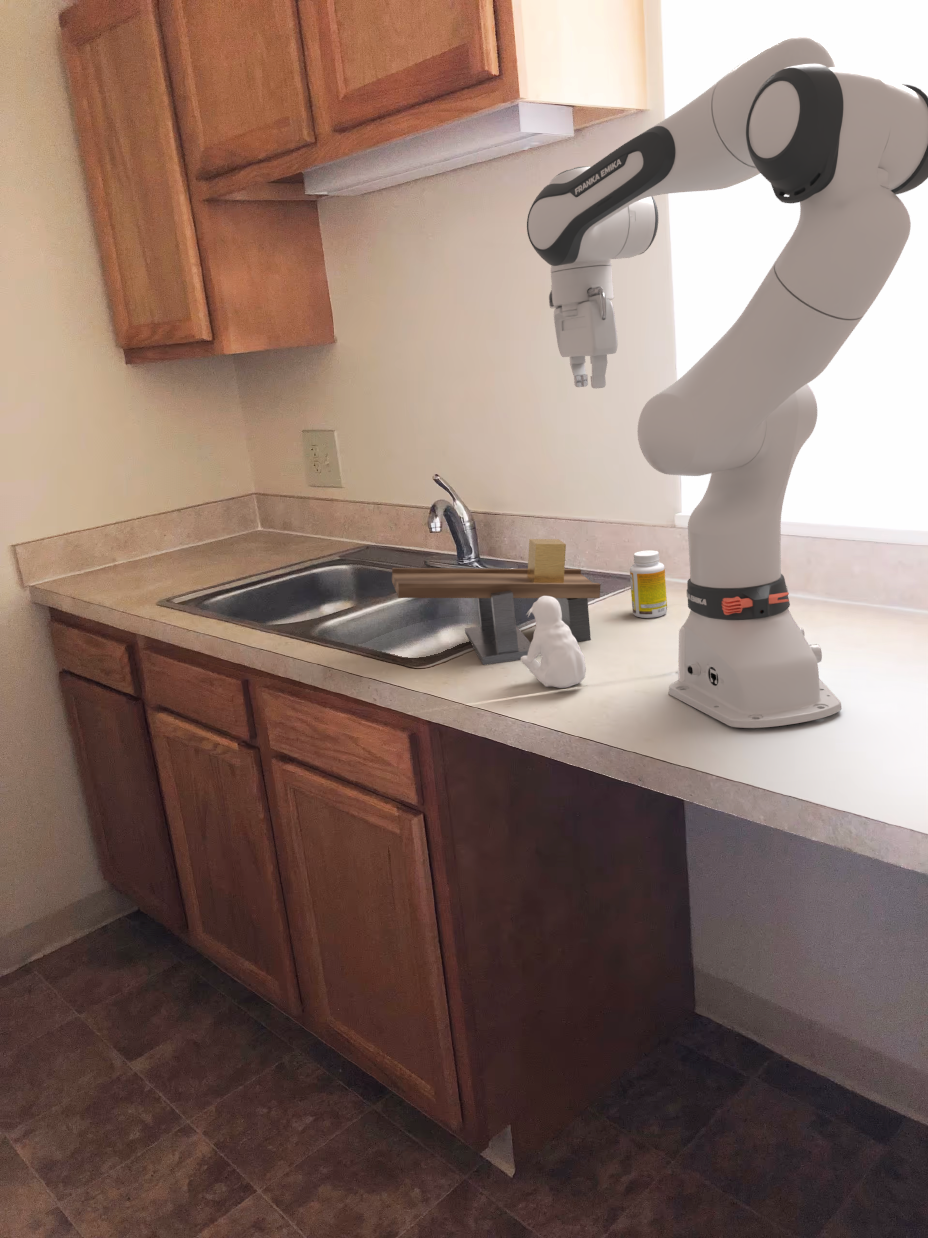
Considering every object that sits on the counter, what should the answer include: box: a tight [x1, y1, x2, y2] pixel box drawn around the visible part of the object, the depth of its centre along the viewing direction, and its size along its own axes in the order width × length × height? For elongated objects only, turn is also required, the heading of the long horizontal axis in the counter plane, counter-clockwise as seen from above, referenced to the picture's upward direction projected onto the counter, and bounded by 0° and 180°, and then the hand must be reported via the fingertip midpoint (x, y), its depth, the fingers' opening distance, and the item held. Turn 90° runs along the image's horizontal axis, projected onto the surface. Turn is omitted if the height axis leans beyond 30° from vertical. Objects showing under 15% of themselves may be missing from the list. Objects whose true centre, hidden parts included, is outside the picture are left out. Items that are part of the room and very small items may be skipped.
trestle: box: [464, 591, 592, 666], centre depth 154 cm, size 17×18×10 cm
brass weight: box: [527, 538, 567, 583], centre depth 153 cm, size 5×5×6 cm
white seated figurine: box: [520, 596, 587, 689], centre depth 134 cm, size 6×8×12 cm
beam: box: [391, 567, 601, 599], centre depth 153 cm, size 12×30×3 cm, turn 99°
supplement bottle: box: [629, 549, 668, 619], centre depth 162 cm, size 6×6×10 cm
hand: (589, 387), depth 150 cm, fingers open, 8 cm apart
